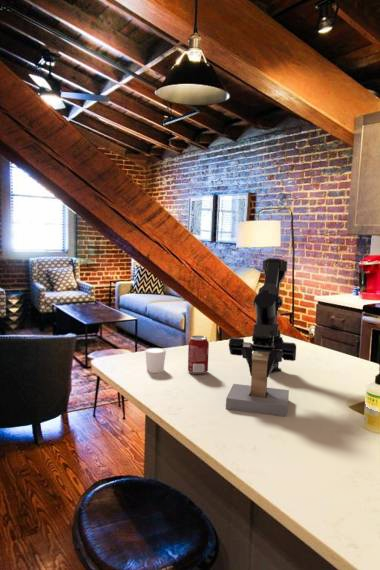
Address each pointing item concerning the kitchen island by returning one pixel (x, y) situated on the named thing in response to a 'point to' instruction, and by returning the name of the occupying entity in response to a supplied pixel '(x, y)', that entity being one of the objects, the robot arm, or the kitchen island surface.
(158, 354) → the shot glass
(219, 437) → the kitchen island surface
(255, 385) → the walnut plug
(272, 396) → the socket board
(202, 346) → the soda can
